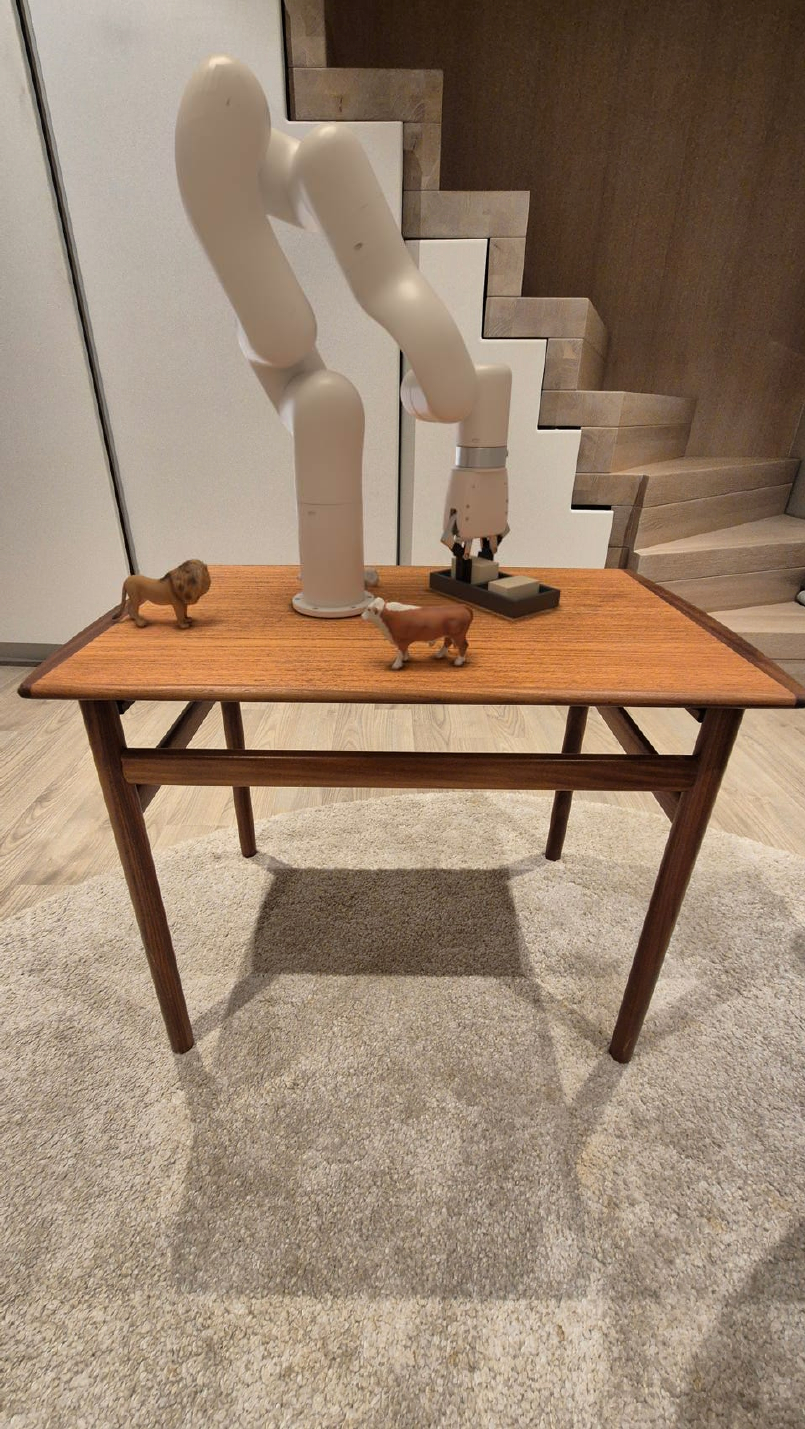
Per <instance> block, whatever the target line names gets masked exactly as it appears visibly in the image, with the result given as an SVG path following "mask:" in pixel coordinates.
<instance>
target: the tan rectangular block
mask: <svg viewBox="0 0 805 1429" xmlns="http://www.w3.org/2000/svg"><path fill="white" fill-rule="evenodd" d="M477 556H478V555H472V554H470V557H469V559H472V572H471V583H470V584H471V585H472V584H477V583H481V582H486V581H490V580H495V579H498V571H500V570H499V569H500V562H497V561H495V560H494V561H491V560H487V559H484V558H480V557H477ZM450 565H451V566H450V567H451V578H453V579H455V571H456V557H455V556H453V557H451V564H450Z"/></svg>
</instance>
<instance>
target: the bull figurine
mask: <svg viewBox="0 0 805 1429" xmlns="http://www.w3.org/2000/svg"><path fill="white" fill-rule="evenodd" d="M360 617H361V620H362V621H363V622H371V624H372V625H373V626H375V627H376V628H378V629H379V630H380V631H381V633H382V636H383V637H384V638H385V639H386V640H387V641H388V642H389V643H390V644H391V645H393V646H395V647H397V651H396V654H397V657H396V659H395V662H394V663H393V664H392V665H391V669H392V670H399V669H400V668H402V667H403V662H406V661H407V660H408V659H411V658H410V657H411V655H410V652H409V646H410V645H411V644H413V643H422V644H423V643H424V644H428V647H429V648H433V647H434V646H435V644H436V643H437V642H439V641H440V640H441V639H443V638H444V640H443V643H442V646H441V648H440V649H439V651H437V652H435V654H434V655H433V658H434V659H441V658H442V657H443V656H444V657H446V656H447V654H448V651H449V649H450V647H451V646H452V647H453V649H454V650H456V649H457V650H458V655H457V658H456V659H455V660H454V662H453V665H454V666H456V667H459V666H462V664H463V662H466V658H465V657H466V653H467V650H468V649H469V646H470V644H469V642H468V640H467V634H468V632H469V630H470V628H471V624H472V622H473V620H474V611H473V609H472V608H471V607H470V606H469V605H467V604H464V603H462V604H450V605H437V606H436V605H435V606H420V605H419V606H418V605H413V604H403V603H401V602H399V601H398V602H397V601H391V600H390V599H388V598H387V599H385V600H384V599H383V598H382V597H379V596H378V597H376V598H375V600H374V601H373V602H372V603H371V604H369V605H368V606H367V609H366V610H365V612H364V613H361V614H360Z"/></svg>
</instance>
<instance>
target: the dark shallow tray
mask: <svg viewBox="0 0 805 1429" xmlns="http://www.w3.org/2000/svg"><path fill="white" fill-rule="evenodd" d="M514 576H515V575H512V574H509V573H506V572H503V571H500V570H499V571H498V579H495V580H490V581H486V582H481V583H477V584H472V585H471V584H468V583H465V582H462V581H459V580H456V579H453V578H451V568H445V569H440V570H436V571H430V572H429V586H428V587H429V588H430V589H432V590H435V591H437V592H440V593H443V594H445V595H448V596H451V597H454V598H456V599H459V600H461V601H463V602H467V603H470V604H472V605H475V606H477V607H479V608H483V609H486V610H488V611H491V612H494V613H496V614H498V615H501V616H504V617H507V618H509V619H513V620H515V619H519V618H521V617H525V616H528V615H533V614H535V613H540V612H544V611H546V610H551V609H554V608H558V607H559V606H560V600H561V592H562V589H559V588H556V587H552V586H548V585H545V584H542V583H540V584H539V592H538V594H535V595H531V596H527V597H523V598H519V599H515V600H514V599H512V598H509V597H506V596H503V595H500V594H497V593H494V592H491V591H488V584H489V582H491V581H496V580H500V579H505V578H509V577H514Z"/></svg>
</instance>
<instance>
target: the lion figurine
mask: <svg viewBox="0 0 805 1429" xmlns="http://www.w3.org/2000/svg"><path fill="white" fill-rule="evenodd" d="M211 585H212V579H211V574H210V571H209V569H208V564H207V563H204V561H202V560H200V559H198V558H191V559H187V560H185V561H184V562H182V563H181V564H179V565H178V566H177V567H175V568H174V569H172V570H169V571H168V572H166V573H165V574H164V576H163V577H160V578H151V577H148V576H146V575H142V574H133V575H129V576H127V577H126V579H125V580H124V582H123V585H122V589H121V603H120V608H119V610H118V612H117V613H115V614H114V615H113V616H111V618H110V619H111V620H119V619H120V618H121V616H123V613H124V610H125V607H126V602H127V597H128V600H129V601H128V602H127V614H128V617H129V618H130V619H133V620H134V621H135V623H136V626H137V627H141V628H143V627H145V626H147V625H148V624H147V623H148V622H147V621H145V620H142V619H141V617H140V613H139V610H140V606H141V603H143V602H144V601H145V600H147V601H149V602H150V603H152V604H154V605H157V606H172V608H173V610H174V614H175V616H176V621H177V624H178V626H179V628H181V629H182V630H183V629H188V628H189V627H190V624H189V623H190V622H192V621H193V620H194V619H193V617H192V616H188V606H194V605H196V604H197V603H198V602H199V600H200V598H201V597H203V596H205V594H207V593H208V592H209V591H210V588H211Z"/></svg>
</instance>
